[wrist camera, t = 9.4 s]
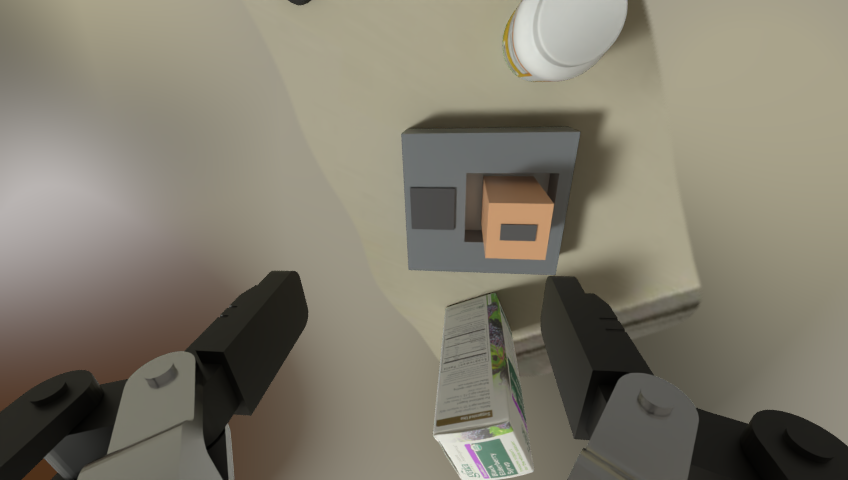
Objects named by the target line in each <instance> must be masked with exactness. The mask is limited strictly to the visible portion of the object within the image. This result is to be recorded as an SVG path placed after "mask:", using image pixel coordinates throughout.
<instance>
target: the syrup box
mask: <svg viewBox="0 0 848 480" xmlns="http://www.w3.org/2000/svg"><path fill="white" fill-rule="evenodd" d="M433 436H434V438H435V439H436V440H437V441H438V442H439V444H440V446H441V448H442V449H443V451H444V453H445V455H446V457H447V458H448V460H449V461H450V463H451V464H452V466H453V467H454V469H455V470H456V472H457V473H458V475H459V477H460V478H461V479H462V480H497V479H505V478H510V477H516V476H520V475H524V474H528V473H531V472H534V465H533V459H532V454H531V448H530V442H529V436H528V429H527V423H526V416H525V410H524V404H523V397H522V390H521V385H520V378H519V372H518V366H517V360H516V354H515V349H514V343H513V338H512V332H511V329H510V327H509V324H508V321H507V319H506V316H505V314H504V311H503V309H502V307H501V304H500V302H499V300H498V298H497V295H496V293H491V294H488V295H484V296H481V297H478V298H475V299H471V300H468V301H465V302H462V303H459V304H455V305H452V306H449V307H446V309H445V318H444V327H443V338H442V348H441V359H440V369H439V380H438V388H437V399H436V409H435V420H434V430H433Z"/></svg>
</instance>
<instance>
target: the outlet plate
mask: <svg viewBox="0 0 848 480" xmlns="http://www.w3.org/2000/svg"><path fill="white" fill-rule="evenodd" d="M401 137H402V155H403V174H404V193H405V212H406V230H407V249H408V268H409V270H425V271H453V272H482V273H510V274H538V275H556V269H557V264H558V258H559V252H560V246H561V241H562V235H563V229H564V223H565V218H566V212H567V206H568V200H569V195H570V189H571V183H572V178H573V172H574V166H575V160H576V155H577V149H578V143H579V137H580V131H577V130H575V129H573V128H570V127H506V128H429V129H407V130H405V131H404V132H403V133H402V134H401ZM483 176H534V177H535V179H536V180H537V181H538V183H539V184H540V186H541V187H542V188H543V190H544V191H545V192H546V194H547V195H548V196H549V198H550V199H551V200H552V202H553V203H554V208H553V214H552V220H551V227H550V233H549V240H548V246H547V252H546V259H545V260H530V259H498V258H485V251H484V243H483V234H482V226H481V210H482V192H483Z"/></svg>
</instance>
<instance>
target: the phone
mask: <svg viewBox="0 0 848 480" xmlns="http://www.w3.org/2000/svg"><path fill="white" fill-rule="evenodd" d="M288 1H290V2H291V3H294V4H296V5H304V4H306V3H308V2H309V1H311V0H288Z"/></svg>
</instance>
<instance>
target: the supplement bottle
mask: <svg viewBox="0 0 848 480" xmlns="http://www.w3.org/2000/svg"><path fill="white" fill-rule="evenodd" d="M627 9H628V0H522V1H521V3H520V4H519V6H518V7H517V8H516V10H515V11H514V13H513V14H512V16H511V17H510V19H509V21H508V23H507V25H506V28H505V31H504V34H503V43H502V47H503V55H504V59H505V61H506V64H507V65H508V67H509V69H510V70H511V71H512V72H513V73H514V74H515V75H516V76H518V77H519V78H521V79H524V80H527V81H533V82H555V81H564V80H568V79H571V78H574V77H577V76H579V75H581V74H583V73H584V72H586V71H587V70H589V69H590V68H591V67H593V66H594V65H595V64H596V63H597V62H598V61H599V60H600V58H601V57H602V56H603V55H604V53H605V52H606V51H607V50H608V49H609V48H610V47H611V46H612V45H613V43H614V42H615V41H616V39H617V38H618V36H619V34H620V32H621V30H622V28H623V26H624V23H625V20H626V15H627Z"/></svg>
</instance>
